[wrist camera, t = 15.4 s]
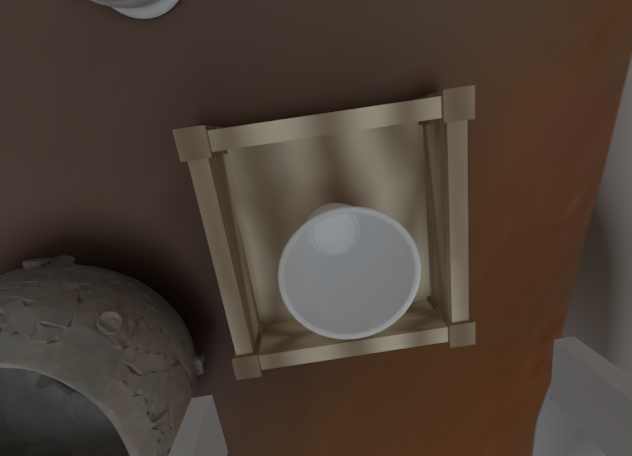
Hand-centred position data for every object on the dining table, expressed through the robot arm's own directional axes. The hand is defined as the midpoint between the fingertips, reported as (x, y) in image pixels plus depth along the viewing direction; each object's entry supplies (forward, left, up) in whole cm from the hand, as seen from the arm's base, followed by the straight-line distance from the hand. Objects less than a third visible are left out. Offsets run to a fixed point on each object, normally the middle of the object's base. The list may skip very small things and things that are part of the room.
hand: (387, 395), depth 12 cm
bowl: (-26, -9, -22) cm, 35 cm away
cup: (0, 0, -21) cm, 21 cm away
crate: (0, 0, -22) cm, 22 cm away
